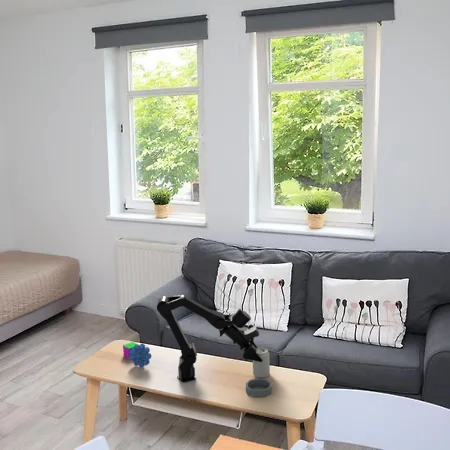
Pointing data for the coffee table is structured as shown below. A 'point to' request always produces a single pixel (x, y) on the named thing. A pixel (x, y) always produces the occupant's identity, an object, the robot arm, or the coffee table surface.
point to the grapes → (140, 355)
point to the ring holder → (258, 388)
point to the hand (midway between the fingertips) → (260, 356)
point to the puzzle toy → (128, 349)
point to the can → (262, 364)
